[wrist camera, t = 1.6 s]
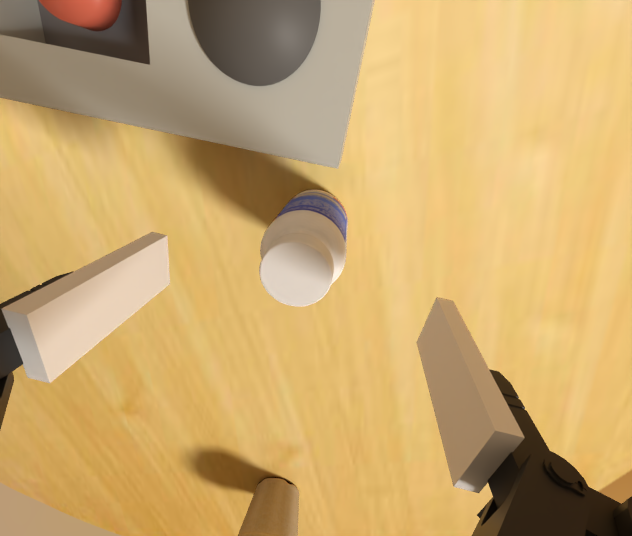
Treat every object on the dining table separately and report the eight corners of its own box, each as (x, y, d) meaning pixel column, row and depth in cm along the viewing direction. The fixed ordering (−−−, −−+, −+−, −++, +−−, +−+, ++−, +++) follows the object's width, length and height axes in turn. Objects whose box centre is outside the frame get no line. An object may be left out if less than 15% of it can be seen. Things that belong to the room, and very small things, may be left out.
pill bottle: (279, 190, 23) (234, 228, 15) (347, 186, 23) (341, 223, 14) (288, 252, 26) (253, 317, 17) (349, 250, 25) (346, 317, 16)
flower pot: (323, 500, 42) (316, 583, 35) (273, 511, 46) (256, 590, 38) (285, 463, 40) (268, 544, 32) (235, 478, 43) (208, 555, 35)
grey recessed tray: (37, 97, 23) (-28, 92, 19) (-27, -189, 16) (-145, -286, 12) (340, 161, 22) (337, 169, 18) (398, -112, 16) (412, -189, 12)
